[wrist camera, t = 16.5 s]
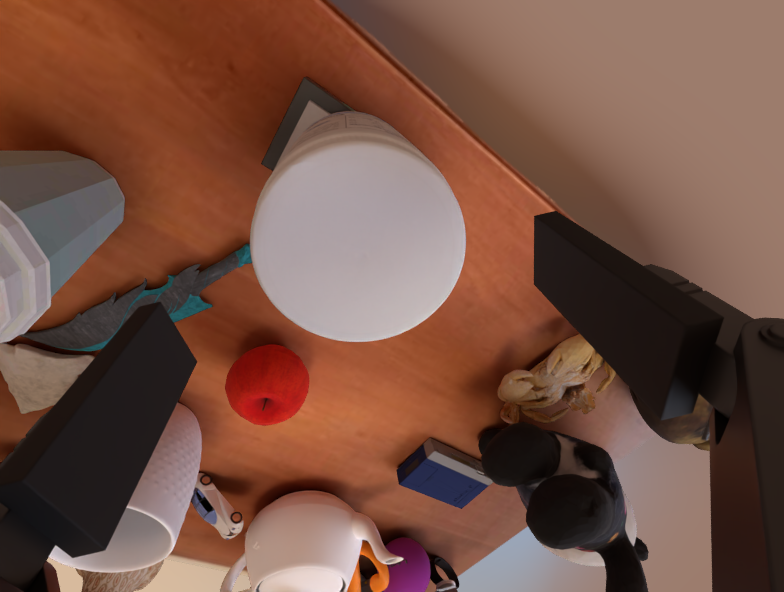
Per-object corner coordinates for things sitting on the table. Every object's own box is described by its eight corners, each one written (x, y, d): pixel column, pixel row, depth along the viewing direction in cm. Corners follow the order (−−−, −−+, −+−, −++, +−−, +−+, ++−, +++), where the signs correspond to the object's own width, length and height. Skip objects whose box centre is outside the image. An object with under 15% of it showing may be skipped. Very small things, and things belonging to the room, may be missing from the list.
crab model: (480, 412, 39) (462, 371, 43) (529, 447, 47) (510, 409, 51) (619, 330, 35) (585, 293, 39) (650, 383, 42) (618, 347, 47)
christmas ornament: (403, 558, 65) (412, 632, 56) (365, 547, 61) (368, 624, 53) (435, 534, 62) (450, 608, 53) (396, 521, 59) (406, 598, 50)
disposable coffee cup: (80, 271, 33) (-84, 396, 21) (-39, 155, 28) (-363, 226, 15) (181, 220, 32) (75, 318, 19) (77, 88, 27) (-167, 102, 14)
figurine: (92, 510, 50) (5, 662, 37) (131, 472, 47) (52, 623, 34) (158, 531, 54) (100, 676, 41) (197, 498, 51) (149, 642, 38)
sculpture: (587, 379, 45) (670, 459, 51) (656, 407, 37) (744, 497, 43) (647, 291, 47) (721, 379, 53) (726, 300, 39) (802, 403, 45)
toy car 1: (253, 556, 47) (236, 573, 44) (195, 483, 50) (176, 495, 48) (264, 541, 45) (246, 557, 43) (203, 467, 49) (184, 478, 46)
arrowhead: (12, 316, 35) (-15, 381, 38) (-8, 331, 33) (-34, 398, 36) (107, 357, 38) (74, 413, 42) (94, 372, 36) (60, 430, 40)
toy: (595, 673, 25) (628, 636, 46) (726, 531, 26) (701, 558, 46) (413, 431, 41) (498, 484, 62) (495, 346, 42) (553, 427, 62)
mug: (82, 356, 38) (-27, 476, 27) (198, 352, 39) (141, 464, 28) (129, 454, 45) (59, 580, 34) (225, 448, 47) (188, 566, 35)
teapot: (261, 559, 60) (244, 662, 49) (203, 509, 52) (168, 620, 41) (410, 511, 58) (426, 608, 47) (374, 452, 50) (382, 553, 39)
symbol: (402, 586, 54) (396, 596, 52) (318, 618, 62) (310, 629, 61) (366, 527, 56) (359, 536, 54) (289, 567, 64) (281, 576, 62)
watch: (467, 590, 65) (452, 606, 64) (454, 565, 69) (440, 579, 69) (442, 574, 61) (426, 590, 61) (430, 548, 66) (415, 563, 65)
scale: (266, 157, 30) (258, 166, 28) (307, 75, 28) (303, 76, 25) (389, 232, 35) (394, 246, 32) (434, 166, 32) (443, 176, 29)
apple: (317, 383, 43) (312, 437, 37) (245, 390, 42) (228, 446, 36) (307, 325, 39) (300, 374, 33) (227, 332, 38) (204, 384, 32)
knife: (279, 280, 36) (250, 233, 33) (277, 285, 35) (248, 238, 32) (58, 365, 38) (16, 328, 35) (51, 372, 37) (7, 335, 35)
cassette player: (395, 469, 52) (458, 495, 57) (398, 485, 50) (462, 510, 55) (430, 436, 50) (492, 465, 54) (434, 451, 48) (498, 480, 52)
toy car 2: (353, 591, 69) (354, 625, 65) (329, 568, 64) (328, 603, 59) (386, 581, 68) (389, 614, 64) (364, 557, 63) (365, 591, 59)
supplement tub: (381, 254, 32) (407, 371, 20) (271, 210, 29) (217, 314, 17) (437, 144, 28) (514, 202, 16) (315, 80, 25) (289, 87, 13)
